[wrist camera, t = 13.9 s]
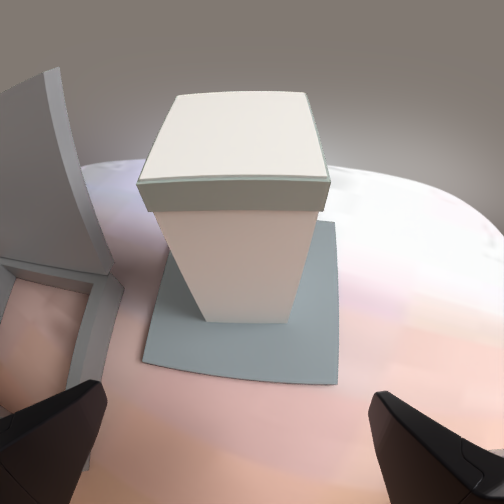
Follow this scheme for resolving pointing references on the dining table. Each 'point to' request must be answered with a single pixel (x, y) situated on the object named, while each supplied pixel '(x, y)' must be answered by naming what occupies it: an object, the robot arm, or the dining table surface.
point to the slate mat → (254, 328)
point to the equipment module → (238, 198)
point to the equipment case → (52, 218)
